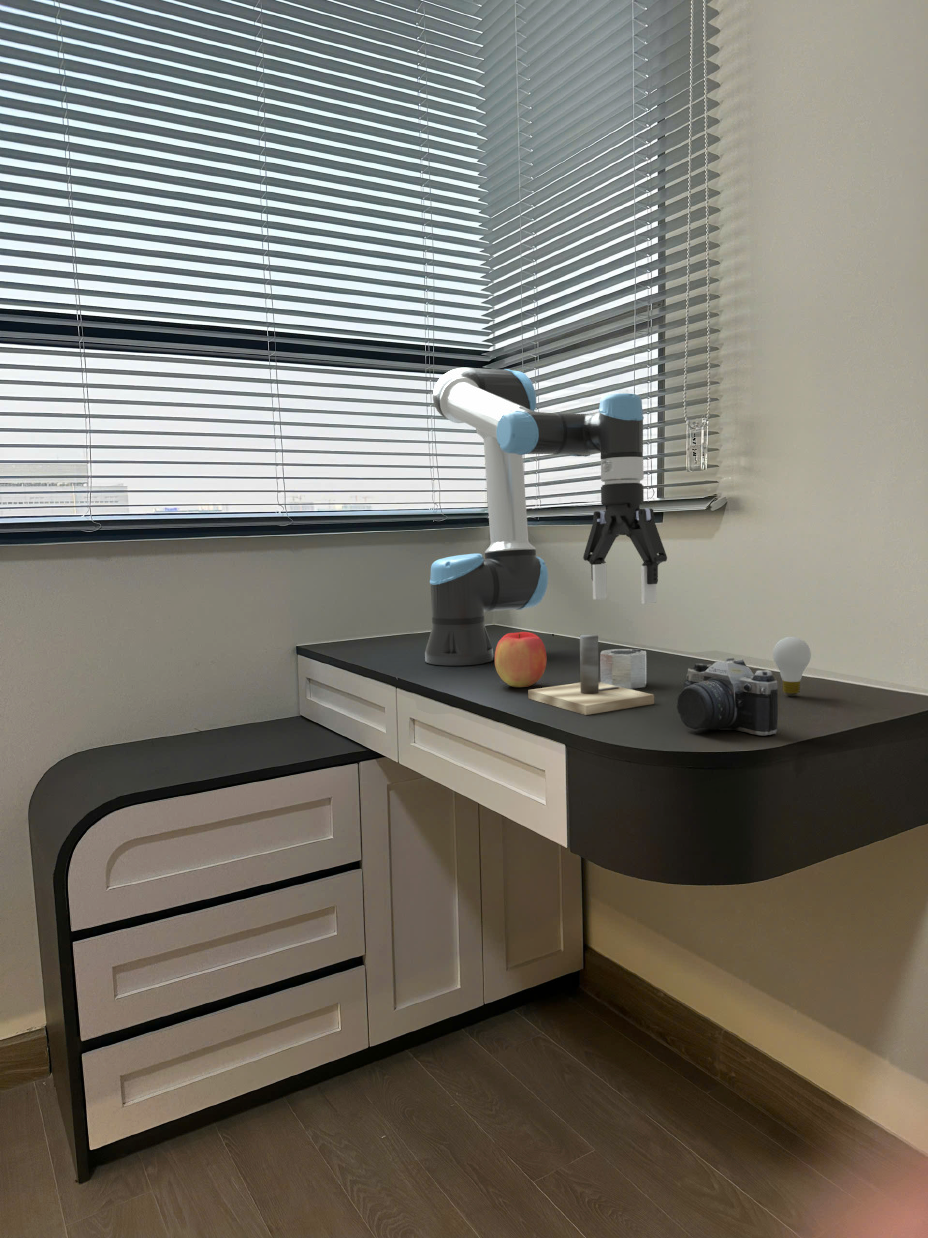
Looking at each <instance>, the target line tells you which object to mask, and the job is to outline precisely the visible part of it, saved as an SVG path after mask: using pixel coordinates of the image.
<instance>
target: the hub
mask: <svg viewBox="0 0 928 1238" xmlns="http://www.w3.org/2000/svg"><path fill="white" fill-rule="evenodd" d="M599 655H600V657H599V658H600V661H599V663H600V682H601V683H605V684H609V685H614V686H618V687H622V688H627V689H631V690H635V689H638V688H646V685H647V651H646V650H642V649H641V648H615V649H614V648H613V649H605V650H604V649H603V650H602V651H601V652H600V654H599Z"/></svg>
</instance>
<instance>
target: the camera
mask: <svg viewBox="0 0 928 1238" xmlns="http://www.w3.org/2000/svg"><path fill="white" fill-rule="evenodd" d="M685 677H686V678H685V679H686V680H684V682H683V689H682V690H681V692H679V694H678V696H677V702H676V710H677V713H678V715H679V716H680V720H681V722H682V723H683V724H684V725H685V726H686V727H687V728H690V729H692V730H700V729H707V730H720V731H721V730H733V731H736V732H742V733H747V734H751V735H753V736H761V737H762V736H764V737H765V736H771V735H775V734H777V731H778V718H779V717H778V715H779V714H778V713H779V711H778V709H779V705H778V704H779V703H778V702H779V701H778V698H779V697H778V696H779V695H778V687H779V686H778V680H776V679H775V677H774V675H773V673H772V671H771V670H768V669H767V670H756V671H755V673H753V671H752V670H751V668H750V667H749V666H748V665H747V664H746V663H745V661H744V659H735V658H734V657H728V658H726V659H725V660H717V661H715V662H714V663H711V664H709V663H708V664H706V663H694V667H688V669H687V674H686V676H685Z"/></svg>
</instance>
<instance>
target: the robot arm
mask: <svg viewBox="0 0 928 1238" xmlns="http://www.w3.org/2000/svg"><path fill="white" fill-rule="evenodd" d="M432 400H433V404H434V407H435V409H436V411H437V413H438V414H440V416H442V417H443V418H444V419H446V420H448V421H450V422H452V423H455V424H467V425H469V426H471V427H472V428H475V429H476V430H475V431H476V434H477V435H479V436H480V438H482V439H483V451H484V452H483V453H484V464H485V465H484V466H485V481H486V491H487V492H486V494H487V495H486V496H487V509H488V522H489V525H488V526H489V537H490V539H489V540H490V545H489V546H488V548H486V550H485V551H484V556H483V554H481V553H468V554H467V553H466V554H458V555H454V556H453V555H452V556H447V557H444V558H443V557H442V558H439V559H437V560H435V561H433V563H432V564H431V567H430V579H429V584H430V602H431V603H430V604H431V629H430V630H431V631H430V634H429V638H428V640H427V644H426V647H425V652H424V657H425V658H424V660H425V663H427V664H430V665H435V666H436V665H437V666H471V665H481V664H486V663H489V662H492V661H493V660H494V650H493V646H492V642H491V640H490V637H489V634H488V632H487V628H486V626H485V612H496V611H510V610H511V611H512V610H523V609H529V608H534V607H536V606H537V605H539V603H541V602H542V600H543V598H544V597H545V595H546V592H547V588H548V584H549V583H548V582H549V572H548V571H549V570H548V568H547V567H548V566H547V565H546V562H545V560H544V559H542V558H541V557H539V556H537V551H536V550H537V549H536V547H535V546H534V545H532V543H530V542H529V530H528V513H527V501H526V499H527V498H526V488H525V486H526V484H525V473H524V472H525V471H524V470H525V468H524V458H523V457H524V456H523V455H570V456H571V457H584V458H585V457H589V456H592V455H595V454H600V480H601V482H602V483H604V484H602V485H601V486H600V503H601V505H602V506H605V510H596V511H594V512H593V514H592V515H593V519H592V525H591V529H590V533H589V536H588V539H587V543H586V546H585V550H584V553H583V557H582V558H583V559H582V560H584V561H585V562H586V561H587V562H589V564H590V566H591V567H590V569H591V570H590V571H591V581H592V600H604V599H605V600H607V599H608V586H607V585H608V584H607V583H608V581H607V577H608V576H607V564H606V560H605V559H606V557H607V555H608V553H609V552H610V550H611V548H612V546H613V544H614V542H615V540H616V539H617V538H618V537H620V536H626V537H627V538H629V539H630V541H631V542H632V544H633V546H634V547H635V550H636V551H637V553H638V555H639V556H640V557H641V560H642V562H643V563H642V564H641V565H640V574H641V575H640V576H641V581H640V583H641V586H640V587H641V589H640V591H641V592H640V593H641V604H643V605H645V604H655V603H657V584H658V582H659V571H658V570H659V565H660V564H662V563H664V562H667V561H668V560H667V559H668V556H667V553H666V550H665V547H664V545H663V542H662V538H661V536H660V533H659V530H658V527H657V525H656V522H655V514H654V509H653V508H641V507H640V505H642V504H643V503H644V495H645V494H644V493H645V492H644V485H643V483H641V481H643V480H644V479H645V477H644V455H643V454H644V418H645V417H644V414H643V400H642V397H641V396H640V395H638V394H636V393H626V392H625V393H624V392H623V393H613V394H607V395H604V396H602V397H601V398H600V400H599V408H598V411H595V412H589V413H568V412H541V411H535V410H536V409H537V395H536V390H535V387H534V384H533V382H532V380H531V379H530V377H529V376H528V375H526V373H524V372H522V371H518V370H512V369H508V368H504V369H503V368H502V369H500V368H497V369H495V368H481V367H480V368H479V367H478V368H476V367H468V366H467V367H464V366H463V367H457V368H454V369H451V370H449V371H447V372H446V373H444V374H443V375H442V376H441V377H439V379H438V380H437V382H436V383H435V385H434V388H433V392H432Z"/></svg>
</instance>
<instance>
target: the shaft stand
mask: <svg viewBox="0 0 928 1238" xmlns="http://www.w3.org/2000/svg"><path fill="white" fill-rule="evenodd" d="M579 665H580V666H579V669H580V671H579V672H580V673H579V674H580V678H579V679H580V680H579V681H580V682H574V683H570V684H569V683H568V684H561V685H553V686H546V687H542V688H541V687H540V688H534V689H528V690H527V691H528V693H527V694H528V697H527V698H528V700H532V701H536V702H539V703H543V704H546V705H550V706H552V707H553V706H554V707H557V708H559V709H563V710H567V711H570V712H574V713H578V714H579V715H580V714H581V715H584V716H588V715H593V714H600V713H601V714H602V713H606V712H612V711H618V710H624V709H630V708H636V707H637V708H638V707H642V706H643V707H644V706H648V705H654V704H655V694H653V693H648V692H644V691H640V690H635V689H627V688H622V687H618V686H614V685H609V684H605V683H601V681H599V635H597V634H583V635H580V636H579Z"/></svg>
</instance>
